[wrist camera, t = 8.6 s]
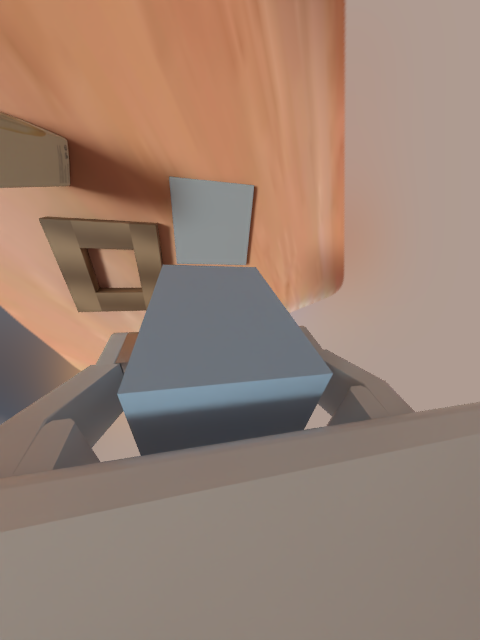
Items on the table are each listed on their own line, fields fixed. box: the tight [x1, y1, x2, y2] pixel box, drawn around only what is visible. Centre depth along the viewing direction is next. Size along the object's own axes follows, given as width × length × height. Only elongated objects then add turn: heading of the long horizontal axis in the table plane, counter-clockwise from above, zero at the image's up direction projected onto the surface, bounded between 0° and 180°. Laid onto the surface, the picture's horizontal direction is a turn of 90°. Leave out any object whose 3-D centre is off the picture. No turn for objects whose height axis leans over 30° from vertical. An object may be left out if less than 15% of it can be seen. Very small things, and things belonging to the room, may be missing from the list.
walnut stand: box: [39, 217, 163, 312], centre depth 27 cm, size 12×12×2 cm
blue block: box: [117, 265, 333, 456], centre depth 8 cm, size 4×4×7 cm
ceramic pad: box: [169, 177, 254, 265], centre depth 27 cm, size 10×10×1 cm
